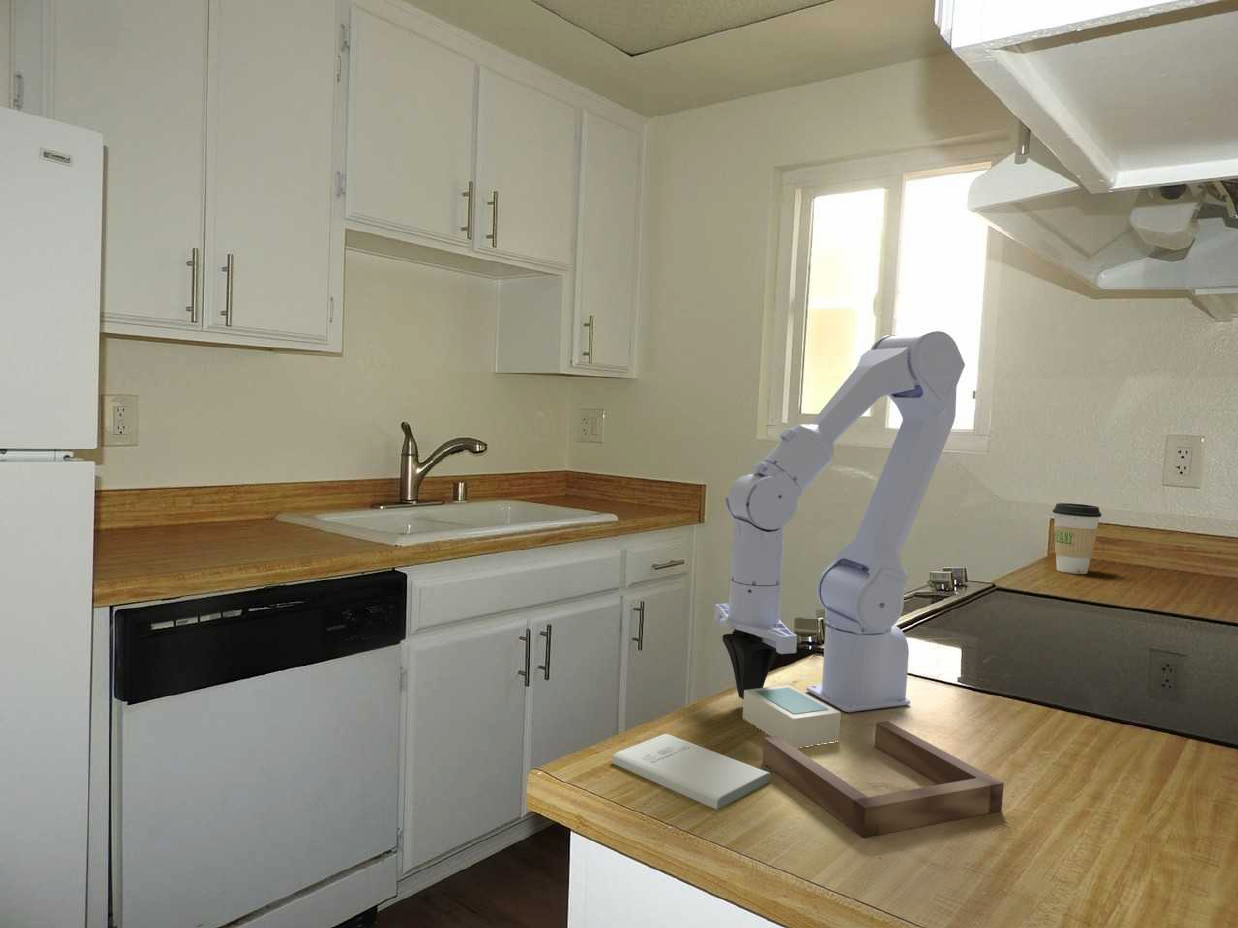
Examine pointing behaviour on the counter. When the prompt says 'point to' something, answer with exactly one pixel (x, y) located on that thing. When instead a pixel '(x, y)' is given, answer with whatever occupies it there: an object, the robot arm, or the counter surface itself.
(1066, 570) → the coffee cup
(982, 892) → the counter surface
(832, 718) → the card box
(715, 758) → the external hard drive
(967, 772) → the frame
